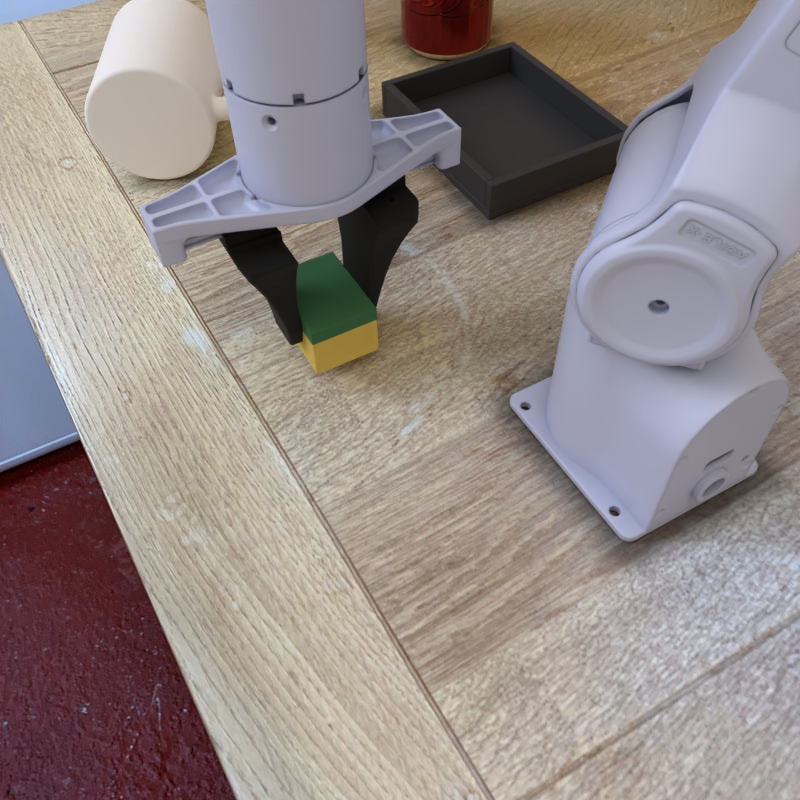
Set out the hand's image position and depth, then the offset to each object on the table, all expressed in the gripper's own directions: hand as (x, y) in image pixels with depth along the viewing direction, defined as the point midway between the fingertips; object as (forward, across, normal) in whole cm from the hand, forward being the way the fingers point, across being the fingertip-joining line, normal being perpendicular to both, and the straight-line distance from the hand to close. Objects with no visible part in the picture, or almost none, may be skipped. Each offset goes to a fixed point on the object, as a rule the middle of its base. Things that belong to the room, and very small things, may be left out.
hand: (326, 316), depth 41 cm
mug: (+3, -1, -23) cm, 23 cm away
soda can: (+3, -23, -26) cm, 35 cm away
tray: (+2, -19, -12) cm, 23 cm away
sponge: (+1, 0, 0) cm, 1 cm away
